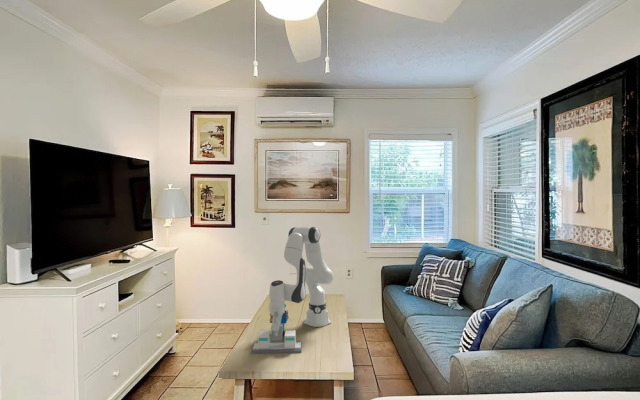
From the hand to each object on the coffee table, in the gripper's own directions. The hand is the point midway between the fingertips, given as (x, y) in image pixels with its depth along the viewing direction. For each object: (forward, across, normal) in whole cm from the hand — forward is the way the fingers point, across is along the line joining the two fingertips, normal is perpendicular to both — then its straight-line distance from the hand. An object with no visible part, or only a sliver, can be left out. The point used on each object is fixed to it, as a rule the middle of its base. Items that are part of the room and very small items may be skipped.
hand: (277, 333), depth 207 cm
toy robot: (+9, +20, +1) cm, 22 cm away
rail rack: (+9, 0, 0) cm, 9 cm away
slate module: (+3, 0, 0) cm, 3 cm away
